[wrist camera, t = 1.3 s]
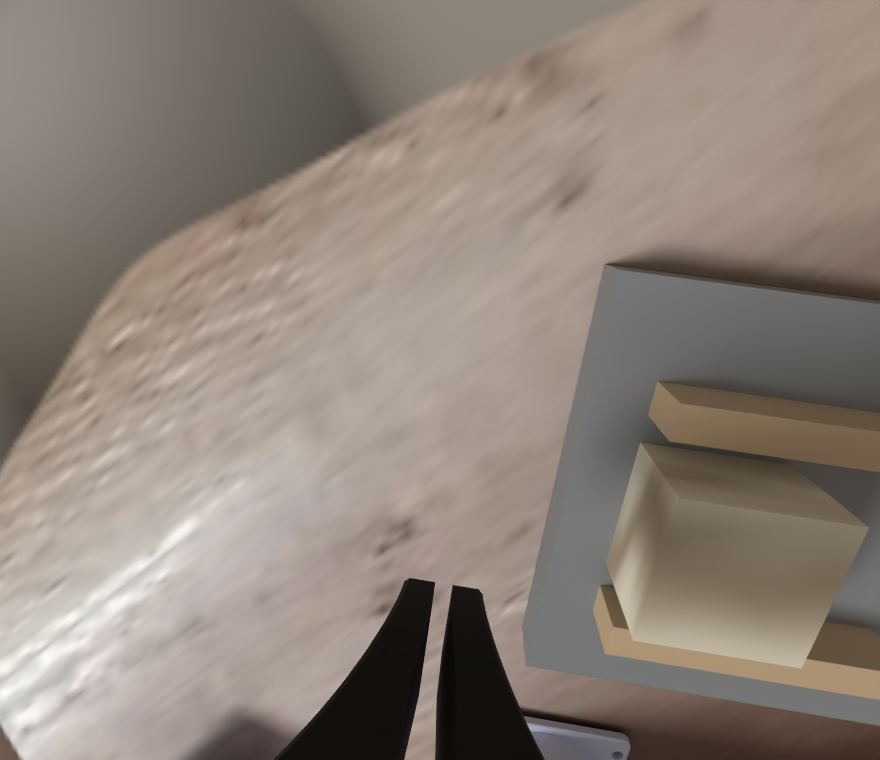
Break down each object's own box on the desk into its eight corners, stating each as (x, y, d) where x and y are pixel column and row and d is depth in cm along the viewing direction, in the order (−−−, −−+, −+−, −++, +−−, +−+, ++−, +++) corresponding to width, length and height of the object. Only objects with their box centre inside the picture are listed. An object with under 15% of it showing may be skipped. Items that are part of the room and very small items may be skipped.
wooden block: (743, 585, 18) (801, 668, 15) (606, 563, 18) (633, 640, 15) (791, 464, 16) (869, 527, 13) (640, 442, 16) (679, 498, 13)
